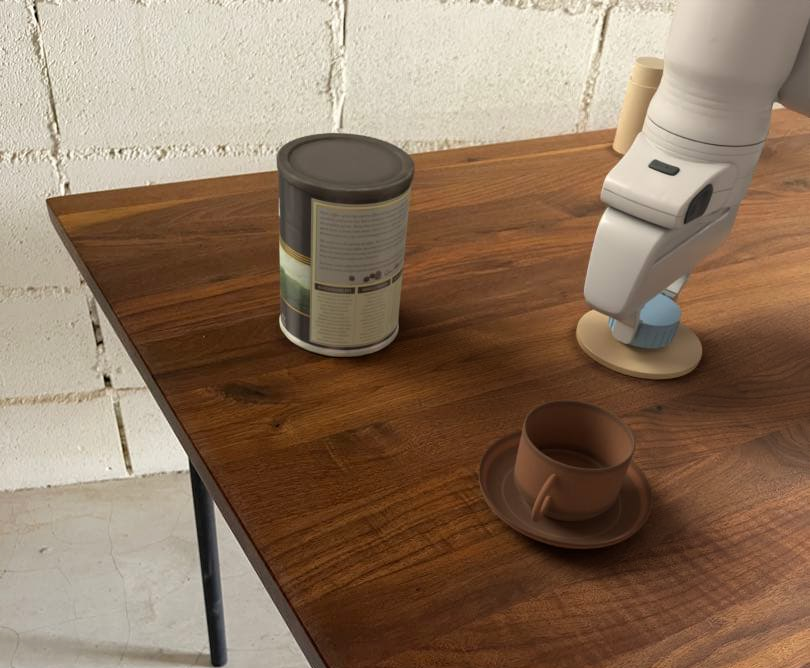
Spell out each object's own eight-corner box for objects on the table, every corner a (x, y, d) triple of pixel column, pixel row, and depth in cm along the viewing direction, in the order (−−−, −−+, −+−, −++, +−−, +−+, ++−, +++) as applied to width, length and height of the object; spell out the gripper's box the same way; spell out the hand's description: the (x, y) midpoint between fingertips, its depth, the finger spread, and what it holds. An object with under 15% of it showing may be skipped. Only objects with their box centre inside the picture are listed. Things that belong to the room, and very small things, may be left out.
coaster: (720, 344, 79) (723, 338, 79) (665, 396, 73) (667, 389, 72) (613, 297, 83) (615, 291, 83) (552, 342, 77) (553, 335, 76)
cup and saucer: (646, 580, 57) (675, 510, 53) (464, 545, 58) (478, 474, 54) (643, 464, 66) (668, 396, 62) (484, 435, 67) (498, 366, 62)
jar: (656, 150, 111) (681, 63, 104) (641, 160, 108) (665, 72, 101) (621, 138, 113) (643, 53, 106) (606, 149, 110) (627, 61, 103)
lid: (650, 357, 74) (659, 334, 73) (594, 325, 77) (602, 302, 75) (685, 333, 78) (694, 310, 76) (631, 303, 80) (638, 281, 78)
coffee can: (255, 333, 74) (249, 163, 64) (317, 282, 81) (320, 121, 71) (364, 372, 71) (375, 201, 61) (419, 316, 78) (437, 154, 68)
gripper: (713, 118, 74) (664, 270, 84) (591, 185, 62) (551, 353, 72) (784, 142, 72) (725, 295, 81) (672, 216, 60) (618, 386, 69)
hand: (643, 323), depth 77 cm, fingers closed on lid, 5 cm apart
